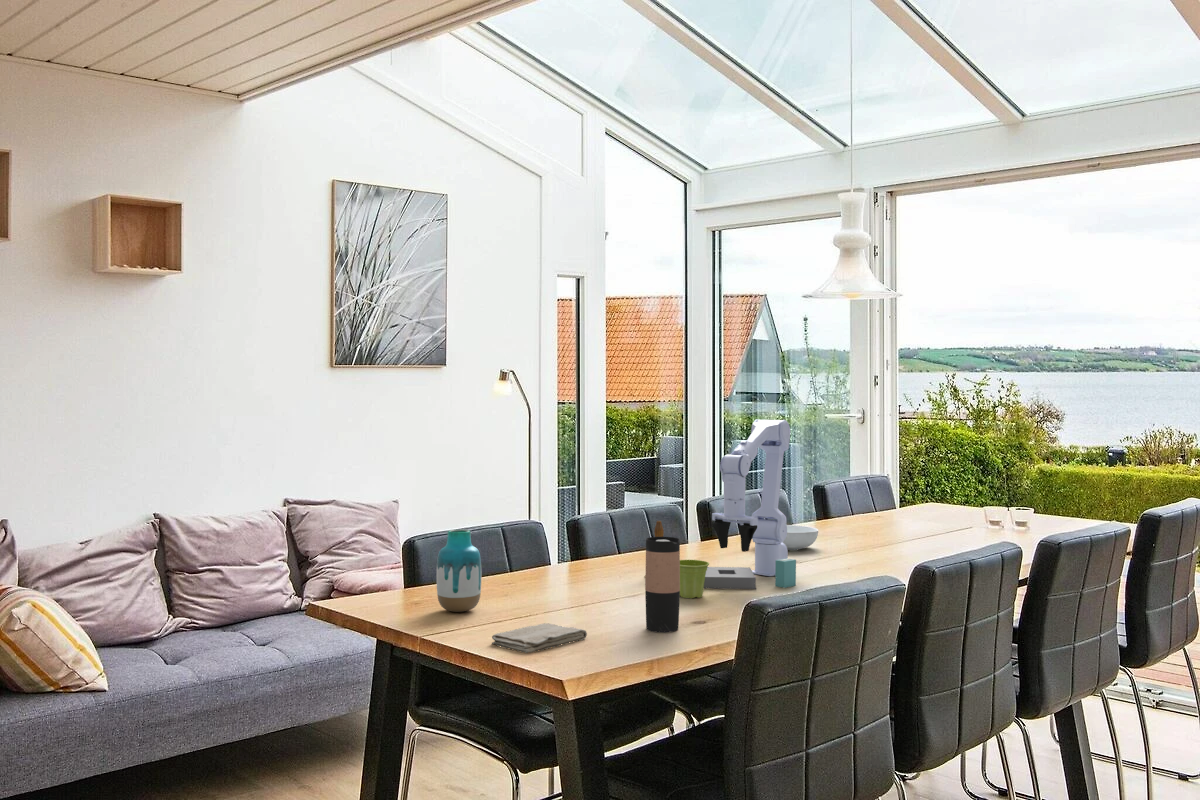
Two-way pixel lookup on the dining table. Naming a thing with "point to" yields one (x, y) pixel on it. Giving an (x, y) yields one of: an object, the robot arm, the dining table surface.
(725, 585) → the keyed socket
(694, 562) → the plant pot
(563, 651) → the dining table surface
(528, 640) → the washcloth
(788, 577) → the keyed peg
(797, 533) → the serving bowl
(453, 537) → the vase
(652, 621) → the travel mug
